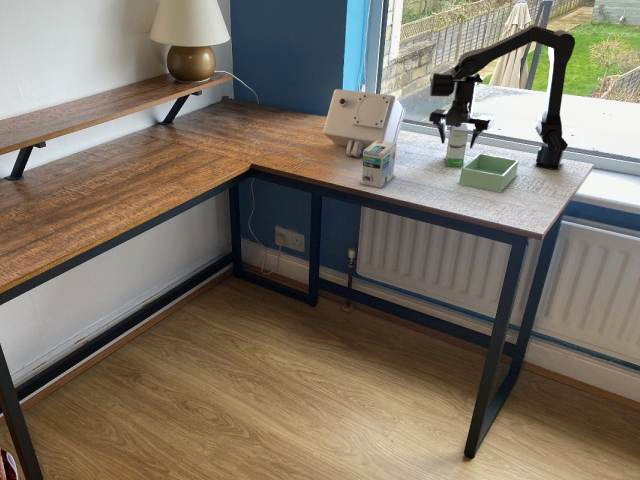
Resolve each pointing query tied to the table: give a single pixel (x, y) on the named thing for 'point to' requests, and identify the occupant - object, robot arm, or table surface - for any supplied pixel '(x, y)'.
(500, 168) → the open green storage box
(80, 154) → the table surface
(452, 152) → the ink box
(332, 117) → the junction box
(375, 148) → the light bulb box
